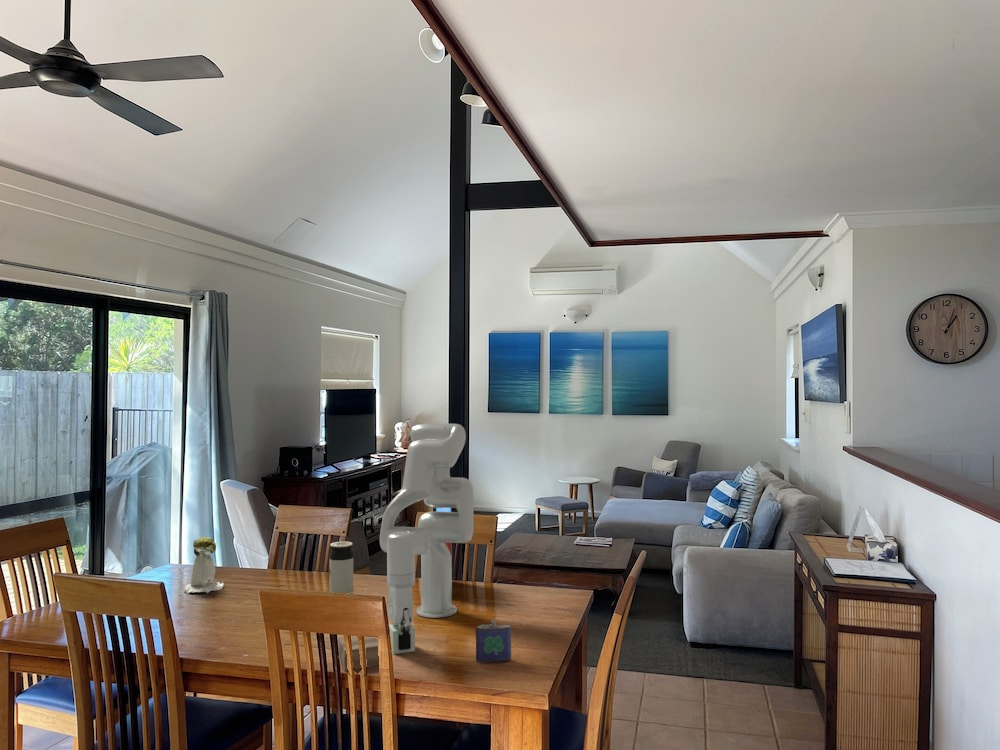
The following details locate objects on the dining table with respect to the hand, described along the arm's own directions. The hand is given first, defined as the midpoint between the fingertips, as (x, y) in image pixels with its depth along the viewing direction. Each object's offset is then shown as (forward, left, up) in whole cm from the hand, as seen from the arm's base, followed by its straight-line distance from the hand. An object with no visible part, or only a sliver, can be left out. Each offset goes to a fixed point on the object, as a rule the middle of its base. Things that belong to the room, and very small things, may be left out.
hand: (401, 644), depth 202 cm
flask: (+18, +20, -1) cm, 27 cm away
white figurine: (-86, -51, -1) cm, 100 cm away
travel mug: (-58, -7, -1) cm, 58 cm away
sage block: (0, 0, -1) cm, 1 cm away
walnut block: (+5, -12, -1) cm, 13 cm away
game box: (-53, +28, -1) cm, 60 cm away
